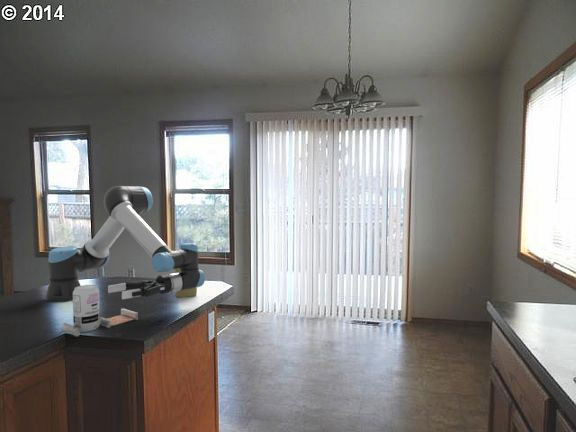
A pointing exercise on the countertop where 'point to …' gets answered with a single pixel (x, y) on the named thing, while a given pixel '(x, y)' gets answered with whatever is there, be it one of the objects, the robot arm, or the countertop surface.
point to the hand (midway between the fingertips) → (114, 292)
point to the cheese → (185, 292)
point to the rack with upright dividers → (105, 321)
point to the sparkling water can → (86, 308)
